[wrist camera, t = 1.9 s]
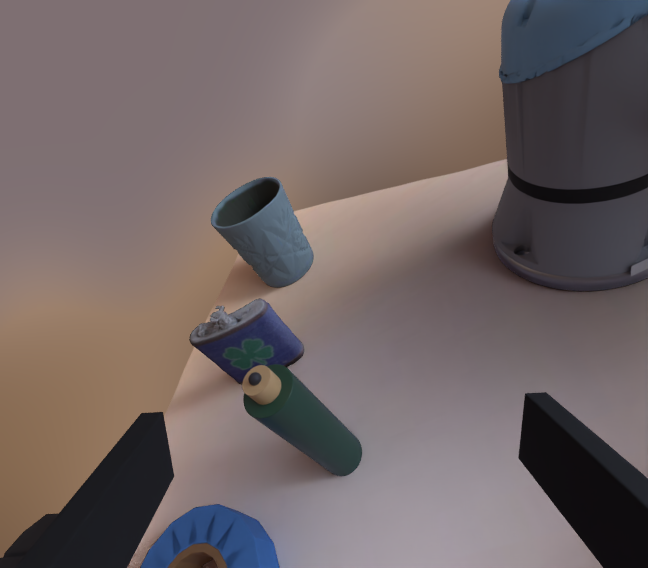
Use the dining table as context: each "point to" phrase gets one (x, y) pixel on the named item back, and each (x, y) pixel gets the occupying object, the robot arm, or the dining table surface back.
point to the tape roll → (213, 541)
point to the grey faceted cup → (264, 231)
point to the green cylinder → (300, 418)
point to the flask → (247, 339)
